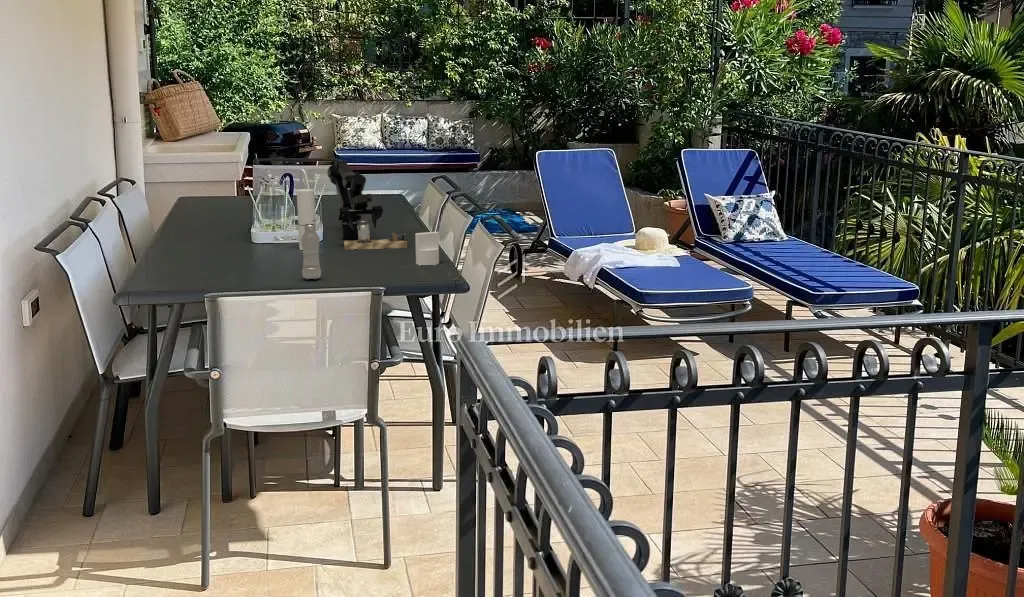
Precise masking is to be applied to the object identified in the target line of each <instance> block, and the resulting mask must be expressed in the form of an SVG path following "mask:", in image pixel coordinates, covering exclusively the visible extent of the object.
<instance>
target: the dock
mask: <svg viewBox="0 0 1024 597" xmlns="http://www.w3.org/2000/svg"><path fill="white" fill-rule="evenodd" d="M391 235H393V240H390V239H387V238H385V239H370V243H358V239H357V240H343V243H344V244H343V245H344V247H343V248H344V251H350V250H352V251H355V250H354V249H357V250H378V249H379V250H380V249H381V250H384V249H385V248H387V249H408V241H407V240H406V241H404V240H397V235H398V234H397V232H391Z"/></svg>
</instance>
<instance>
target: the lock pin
mask: <svg viewBox="0 0 1024 597" xmlns="http://www.w3.org/2000/svg"><path fill="white" fill-rule="evenodd" d="M388 236H389V239H390V240H393V235H392V234H389V235H388ZM397 240H404V241H407V233H403V234H397Z"/></svg>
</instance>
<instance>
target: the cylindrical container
mask: <svg viewBox="0 0 1024 597" xmlns="http://www.w3.org/2000/svg"><path fill="white" fill-rule="evenodd" d="M296 204H297V205H296V206H297V208H296V209H297V225H298V226H297V227H298V228H297V229H298V247H299V249H300V250H303V248H302V242H301V238H302V236H303V234H304V232H305V230H304V225H305V224H315V232H316V233H317V221H316V198H315V189H311V188H302V189H297V190H296ZM300 250H299V251H300Z"/></svg>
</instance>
